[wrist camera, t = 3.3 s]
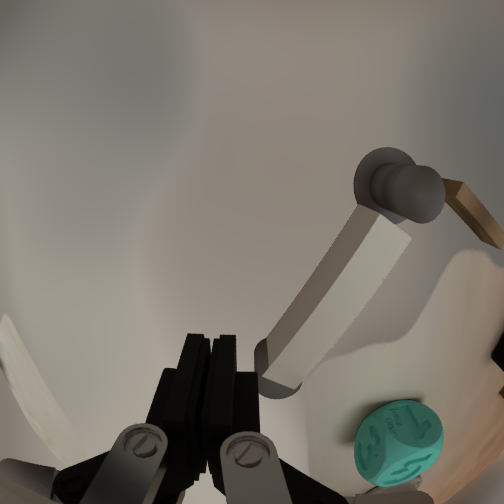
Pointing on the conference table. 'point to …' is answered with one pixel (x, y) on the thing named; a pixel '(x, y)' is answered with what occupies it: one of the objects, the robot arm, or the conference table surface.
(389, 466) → the decorative dice
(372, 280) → the leg
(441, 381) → the conference table surface
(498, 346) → the camera
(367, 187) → the brown and grey piece
